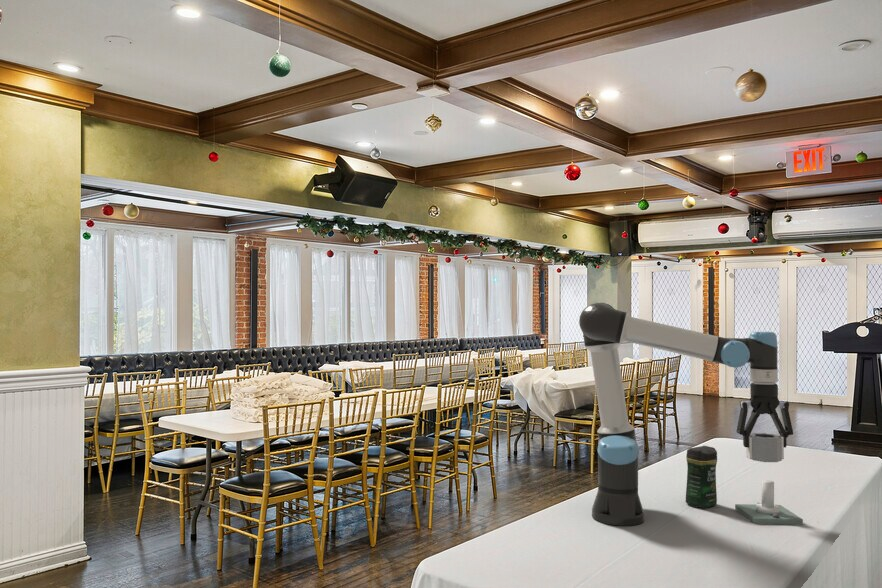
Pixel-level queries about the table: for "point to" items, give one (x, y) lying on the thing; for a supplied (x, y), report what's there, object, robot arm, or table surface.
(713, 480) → the coffee jar
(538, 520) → the table surface
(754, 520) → the stand
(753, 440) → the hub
